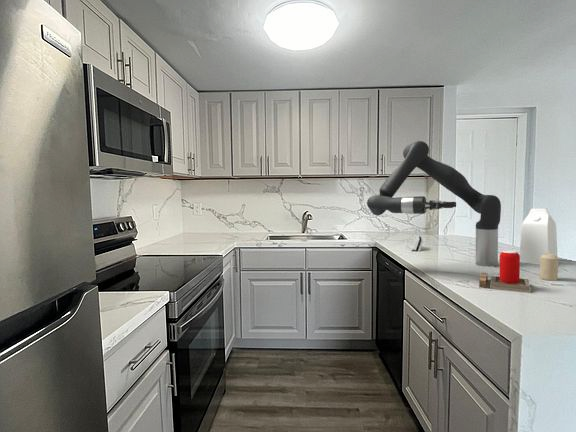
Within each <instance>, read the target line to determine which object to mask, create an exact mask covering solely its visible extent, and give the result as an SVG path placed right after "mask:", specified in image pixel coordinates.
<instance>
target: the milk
mask: <svg viewBox="0 0 576 432" xmlns="http://www.w3.org/2000/svg"><path fill="white" fill-rule="evenodd" d="M520 229H521V231H520V241H519V256H520V263H525V264H531V265H538V266H540V257H541V256H542V255H545V254H547V253H551V254H552V255H553V254H554V255H555V256H556V257H557V258H558V238H557V223H556V222H555V220H554V219H553V217H552V216H551V215H550V212H549V211H548V208H532V207H531V209H530V210H529V212H528V214H527V215H526V217H525V218H524V220H523V222H522V223H521V228H520ZM558 259H559V258H558Z"/></svg>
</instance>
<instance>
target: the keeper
mask: <svg viewBox="0 0 576 432" xmlns="http://www.w3.org/2000/svg"><path fill="white" fill-rule="evenodd" d="M530 285H531V283H530V282H529V279H528V278H523V277H522V278H521V277H520V282H519V283H518V284H510V283H502V282H500V280H499V275H492V277H491V280H490V287H489V289H490V290H499V289H501V290H500V291H509V292H518V293H519V292H520V293H530V294H532V289H531V286H530Z"/></svg>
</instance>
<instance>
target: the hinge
mask: <svg viewBox="0 0 576 432" xmlns="http://www.w3.org/2000/svg"><path fill="white" fill-rule="evenodd" d="M423 244H424V237H422V236H421V235H418V234H414V235H413V236H412V239H411V241H410V243H408V244H407V246H406V248H407V249H408V250H409V251H410V252H413V251H417V252H421V249H422V246H423Z"/></svg>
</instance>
